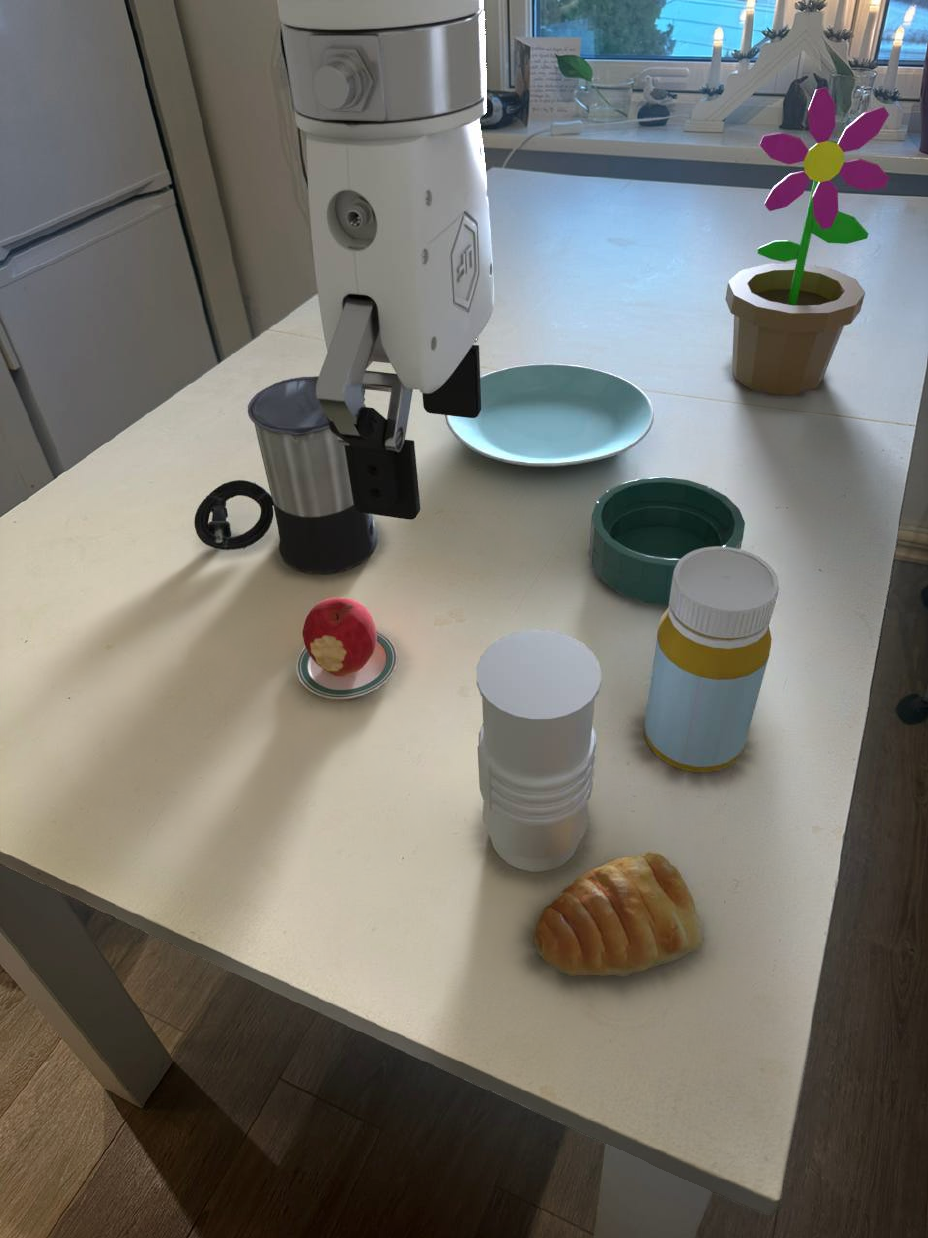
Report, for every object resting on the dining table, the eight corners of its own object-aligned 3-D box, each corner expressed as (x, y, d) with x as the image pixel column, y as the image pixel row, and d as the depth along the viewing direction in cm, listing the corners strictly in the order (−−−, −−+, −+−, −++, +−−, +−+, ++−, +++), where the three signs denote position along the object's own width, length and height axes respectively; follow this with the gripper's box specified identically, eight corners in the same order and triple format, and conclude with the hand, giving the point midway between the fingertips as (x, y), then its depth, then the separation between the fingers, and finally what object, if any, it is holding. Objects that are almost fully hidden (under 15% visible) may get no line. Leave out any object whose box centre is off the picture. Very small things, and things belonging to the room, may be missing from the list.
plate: (483, 373, 106) (482, 351, 104) (667, 396, 99) (670, 373, 98) (415, 469, 90) (413, 445, 88) (628, 503, 84) (631, 478, 82)
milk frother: (392, 561, 79) (374, 414, 69) (218, 608, 75) (173, 460, 65) (348, 482, 89) (327, 343, 79) (193, 521, 85) (150, 380, 75)
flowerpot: (707, 395, 99) (755, 93, 79) (720, 341, 109) (766, 61, 89) (840, 410, 96) (927, 97, 75) (842, 353, 106) (918, 63, 85)
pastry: (564, 1014, 48) (566, 982, 46) (515, 911, 53) (515, 877, 51) (710, 952, 51) (720, 918, 48) (650, 859, 55) (657, 824, 53)
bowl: (739, 533, 80) (749, 487, 77) (727, 623, 71) (738, 575, 68) (603, 514, 83) (607, 469, 80) (575, 597, 74) (578, 551, 71)
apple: (412, 683, 68) (405, 621, 63) (312, 716, 66) (298, 654, 61) (379, 620, 73) (370, 559, 69) (286, 649, 71) (271, 588, 67)
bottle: (738, 788, 59) (783, 625, 49) (635, 765, 61) (658, 603, 51) (747, 714, 64) (790, 552, 54) (651, 694, 66) (675, 534, 56)
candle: (466, 809, 59) (455, 649, 49) (559, 776, 60) (567, 615, 50) (506, 894, 54) (503, 737, 44) (606, 856, 56) (626, 696, 46)
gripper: (397, 134, 26) (436, 574, 38) (538, 32, 38) (535, 389, 50) (182, 127, 28) (281, 548, 40) (380, 32, 40) (412, 375, 52)
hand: (422, 459), depth 45 cm, fingers open, 9 cm apart
